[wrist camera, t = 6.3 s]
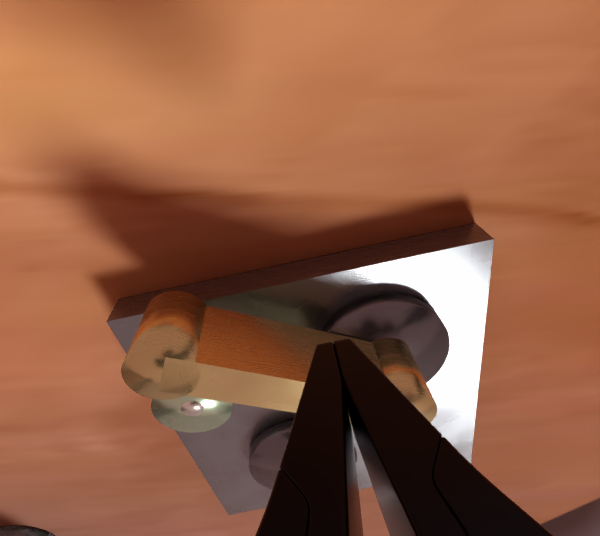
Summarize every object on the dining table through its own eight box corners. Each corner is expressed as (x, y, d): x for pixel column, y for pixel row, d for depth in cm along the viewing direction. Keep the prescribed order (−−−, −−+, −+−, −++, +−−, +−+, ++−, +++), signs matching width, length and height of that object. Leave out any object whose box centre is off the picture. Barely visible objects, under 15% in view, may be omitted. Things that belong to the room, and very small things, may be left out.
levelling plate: (475, 223, 16) (509, 251, 14) (459, 445, 25) (478, 484, 23) (118, 299, 16) (96, 339, 14) (230, 491, 25) (227, 532, 23)
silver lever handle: (236, 431, 19) (231, 506, 16) (347, 408, 19) (364, 480, 16) (288, 538, 26) (291, 606, 23) (370, 523, 26) (385, 588, 23)
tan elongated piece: (468, 311, 16) (517, 375, 13) (404, 398, 19) (432, 468, 16) (164, 231, 13) (133, 291, 10) (141, 350, 16) (111, 426, 13)
